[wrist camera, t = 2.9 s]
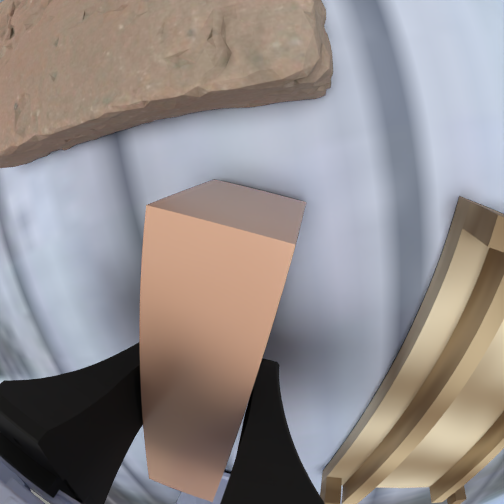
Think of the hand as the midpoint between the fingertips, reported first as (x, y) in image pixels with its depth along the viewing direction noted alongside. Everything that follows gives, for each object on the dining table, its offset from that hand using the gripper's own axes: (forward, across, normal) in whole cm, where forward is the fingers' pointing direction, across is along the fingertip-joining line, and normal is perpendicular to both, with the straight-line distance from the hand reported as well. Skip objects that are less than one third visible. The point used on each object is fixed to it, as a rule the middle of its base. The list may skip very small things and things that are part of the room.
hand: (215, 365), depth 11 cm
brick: (+3, +7, -12) cm, 14 cm away
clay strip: (+2, 0, 0) cm, 2 cm away
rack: (+2, -13, +1) cm, 13 cm away
